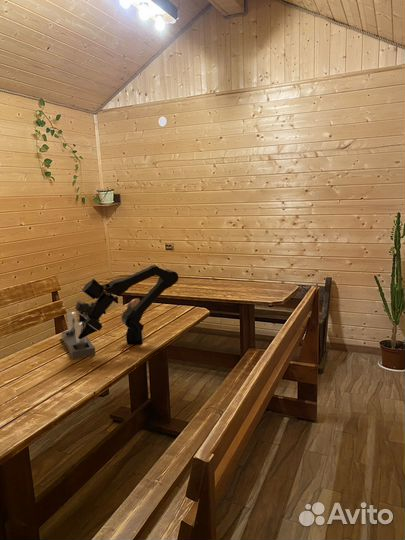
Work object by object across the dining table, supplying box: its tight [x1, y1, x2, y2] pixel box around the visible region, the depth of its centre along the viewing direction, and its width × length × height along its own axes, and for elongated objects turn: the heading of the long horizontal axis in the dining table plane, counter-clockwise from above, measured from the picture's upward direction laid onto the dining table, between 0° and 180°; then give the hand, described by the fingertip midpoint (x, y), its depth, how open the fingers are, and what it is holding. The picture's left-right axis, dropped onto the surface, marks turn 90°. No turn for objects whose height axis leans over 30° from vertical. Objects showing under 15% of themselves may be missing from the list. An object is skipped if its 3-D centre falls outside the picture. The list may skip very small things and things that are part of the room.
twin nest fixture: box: [61, 330, 96, 360], centre depth 171 cm, size 9×28×3 cm, turn 28°
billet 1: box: [66, 310, 78, 336], centre depth 178 cm, size 4×4×13 cm
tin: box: [126, 297, 142, 309], centre depth 215 cm, size 15×3×8 cm, turn 168°
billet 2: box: [75, 321, 87, 350], centre depth 163 cm, size 4×4×13 cm
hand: (76, 335), depth 162 cm, fingers open, 9 cm apart
